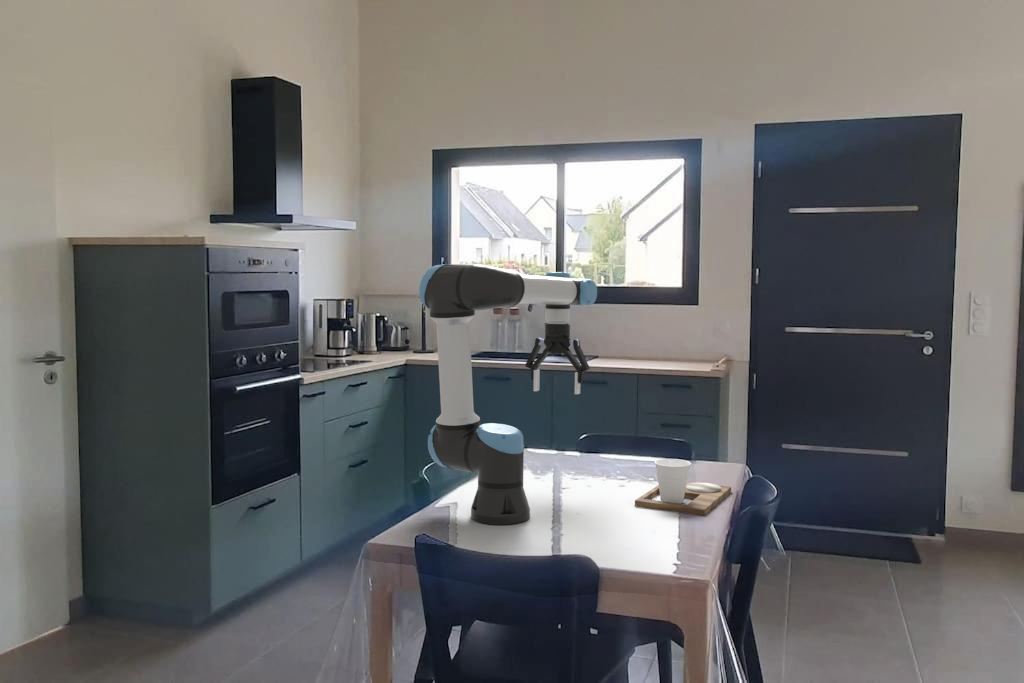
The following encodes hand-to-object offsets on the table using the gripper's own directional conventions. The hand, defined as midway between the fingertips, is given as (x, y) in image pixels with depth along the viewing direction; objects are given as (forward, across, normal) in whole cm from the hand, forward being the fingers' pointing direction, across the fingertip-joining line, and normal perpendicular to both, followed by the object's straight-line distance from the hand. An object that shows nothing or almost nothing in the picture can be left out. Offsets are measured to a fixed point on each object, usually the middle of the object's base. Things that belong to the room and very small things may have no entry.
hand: (556, 392), depth 267 cm
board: (+26, -42, +7) cm, 50 cm away
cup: (+26, -40, +12) cm, 50 cm away
